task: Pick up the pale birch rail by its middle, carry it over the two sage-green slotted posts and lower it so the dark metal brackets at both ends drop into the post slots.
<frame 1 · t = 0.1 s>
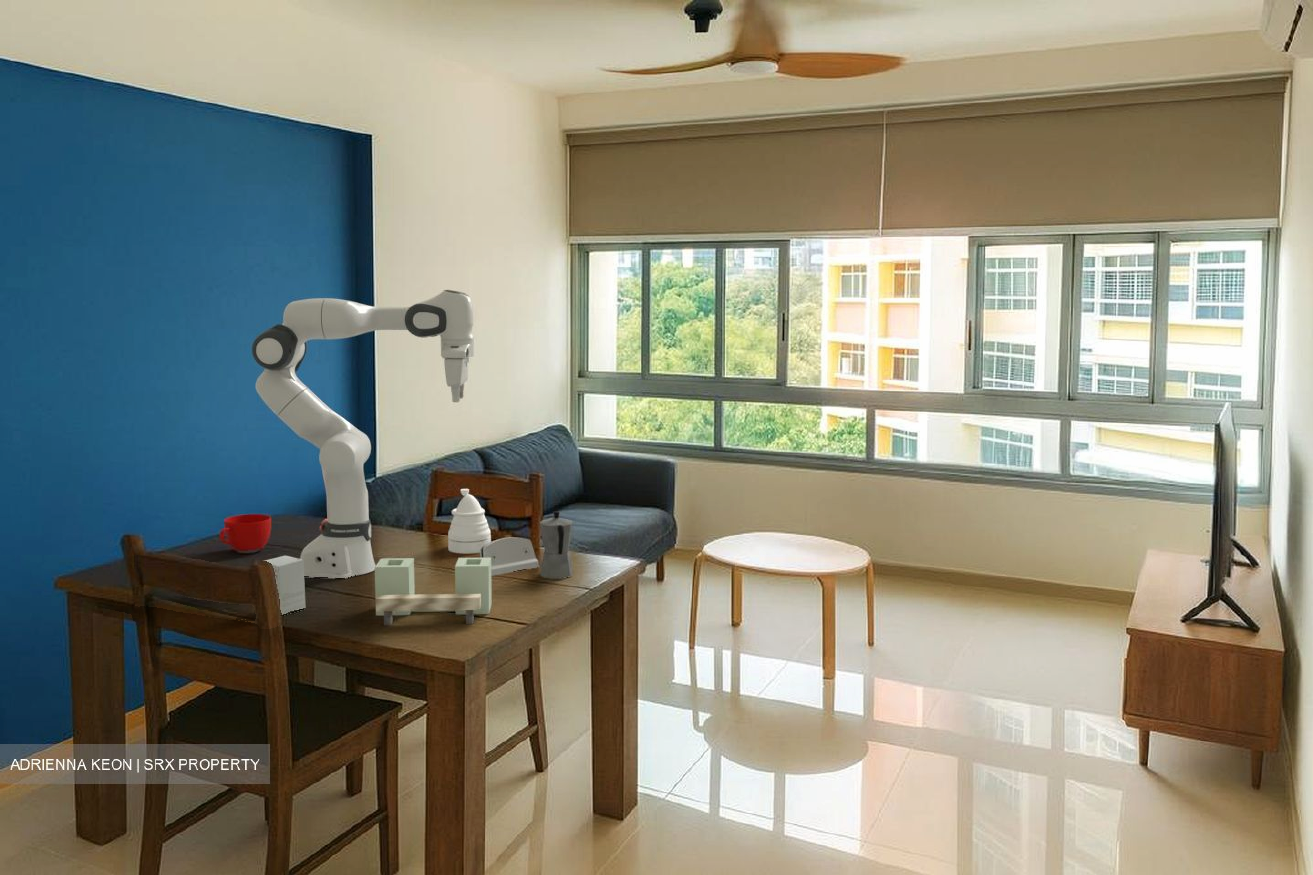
hand: (458, 400, 279), 48 cm above the table, tool pointing down, fingers open, 8 cm apart
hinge: (508, 569, 287), on the table
honey pot: (469, 548, 309), on the table
rail: (429, 622, 239), on the table
ceramic cup: (244, 553, 300), on the table
supplement box: (284, 611, 247), on the table
coffeepot: (557, 576, 280), on the table
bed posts: (435, 609, 249), on the table
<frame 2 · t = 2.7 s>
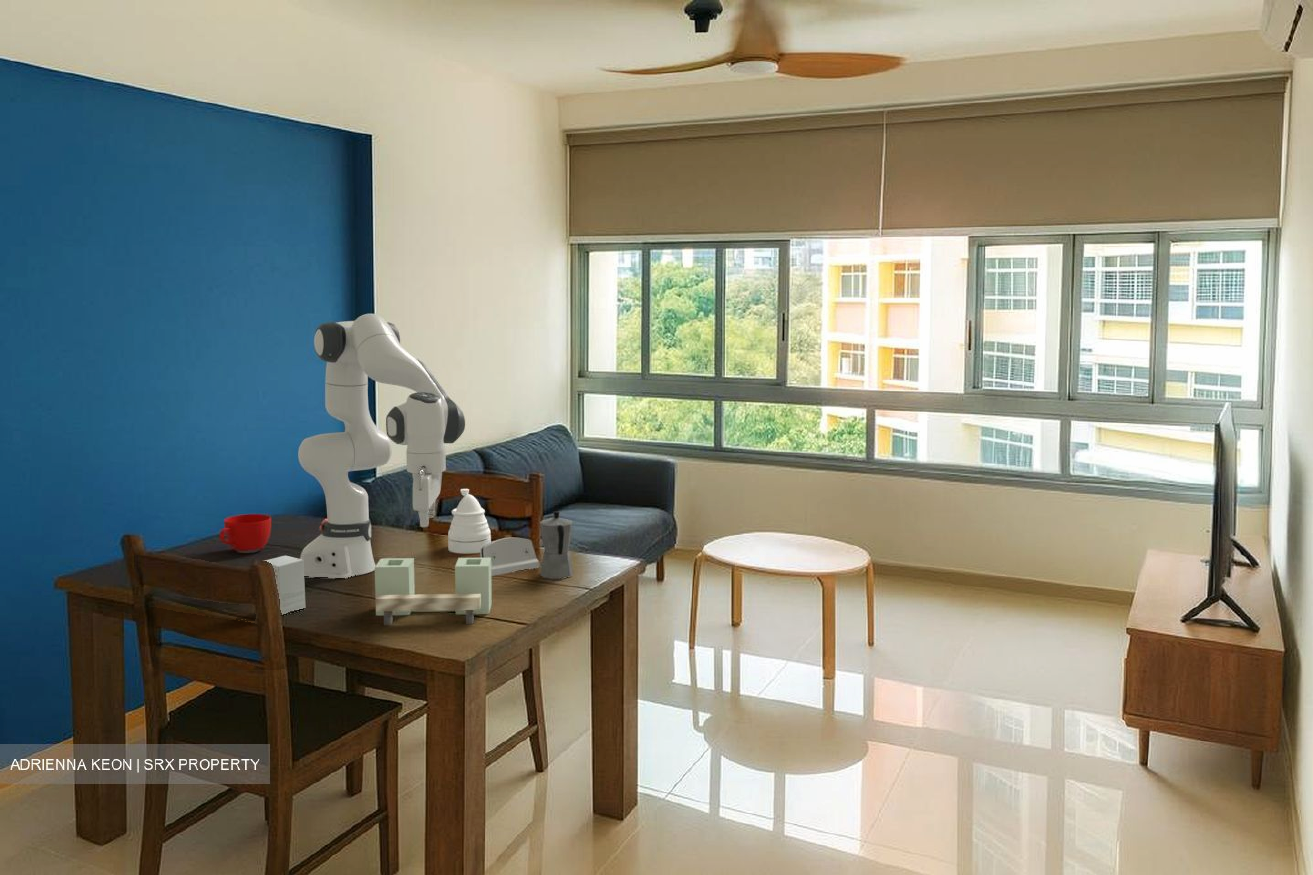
hand: (427, 521, 236), 24 cm above the table, tool pointing down, fingers open, 8 cm apart
nothing on the table moved.
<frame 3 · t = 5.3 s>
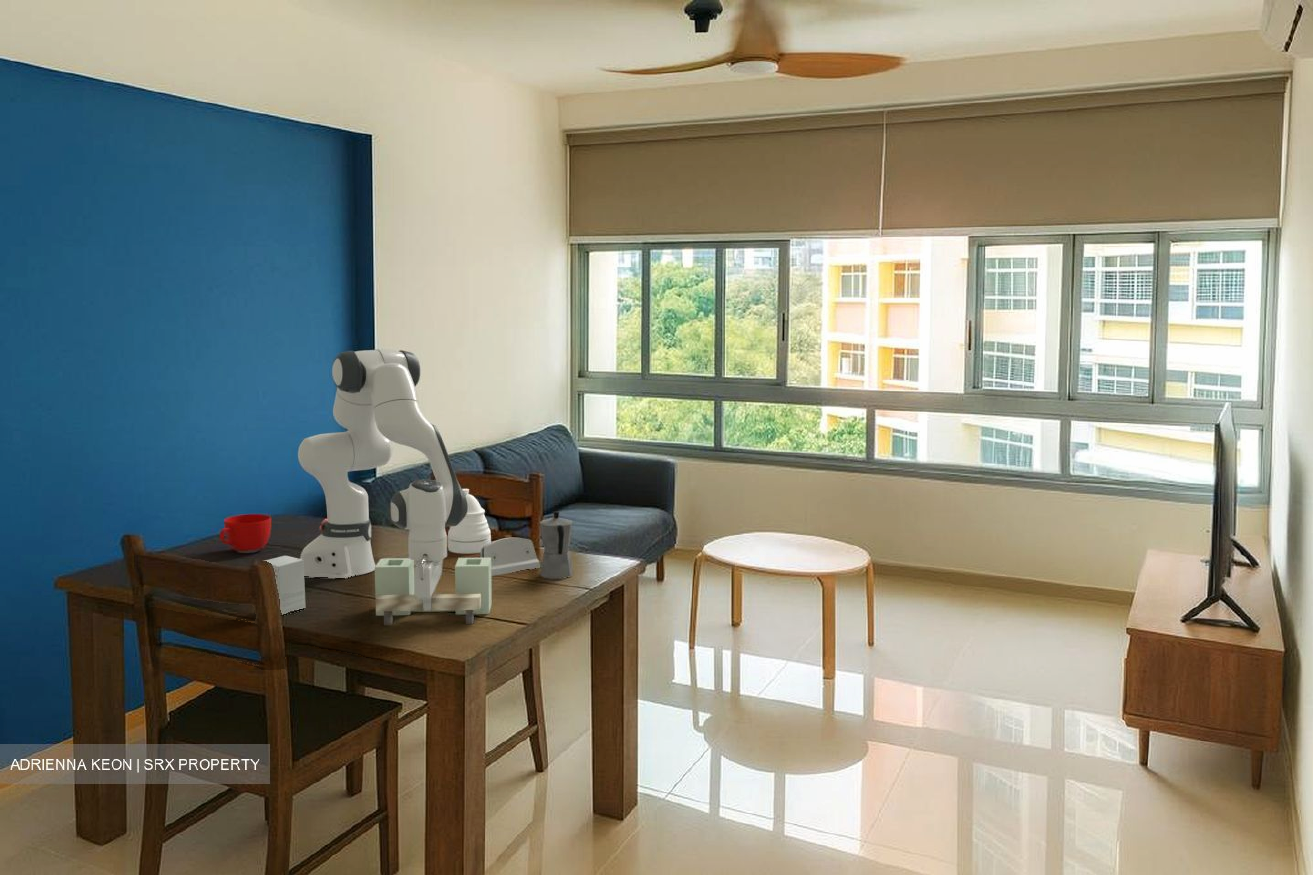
hand: (428, 606, 238), 4 cm above the table, tool pointing down, fingers closed on rail, 3 cm apart
rail: (429, 622, 239), on the table, touching gripper
everything else where it was.
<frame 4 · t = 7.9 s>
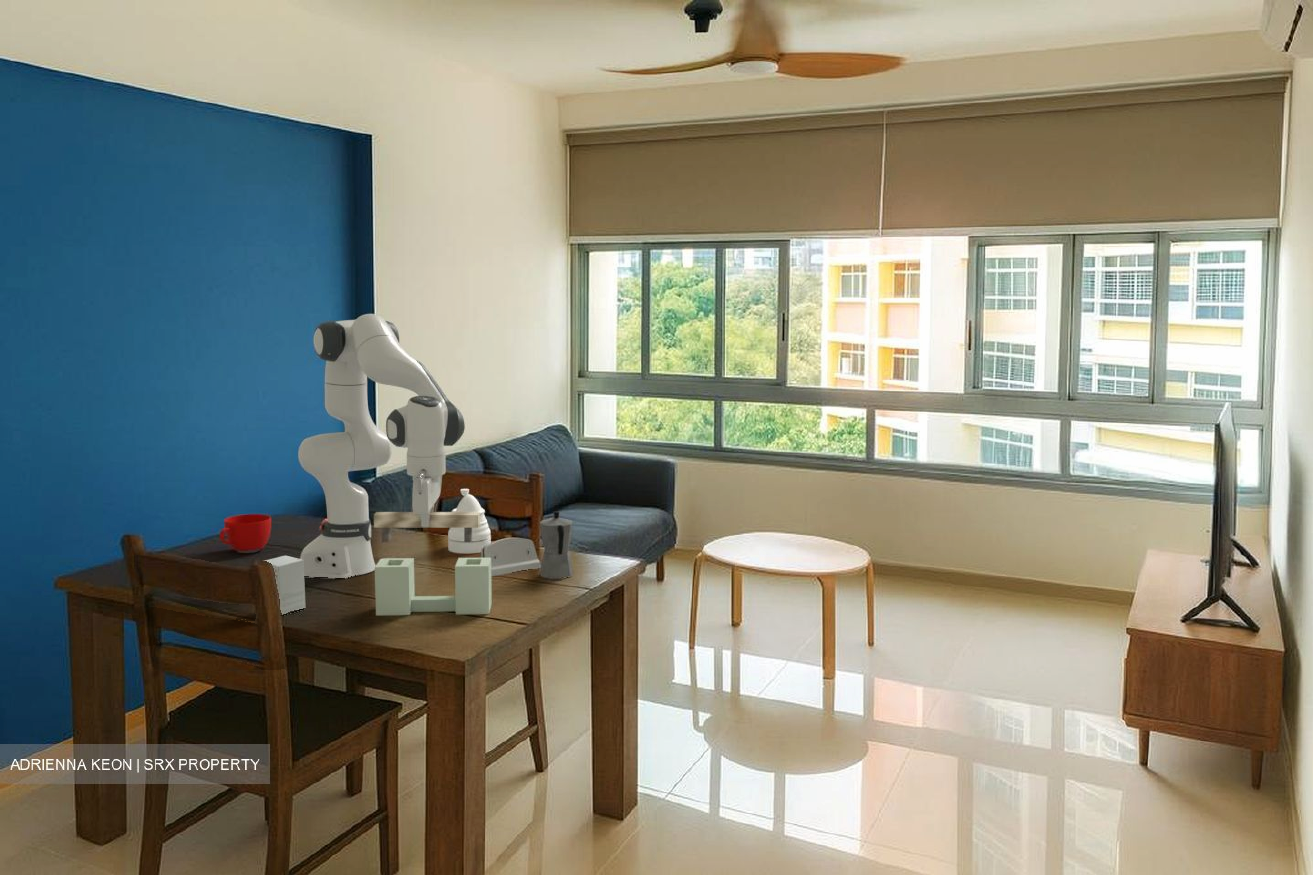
hand: (427, 524, 237), 23 cm above the table, tool pointing down, fingers closed on rail, 3 cm apart
rail: (427, 540, 238), point 20 cm above the table, touching gripper
everything else where it was.
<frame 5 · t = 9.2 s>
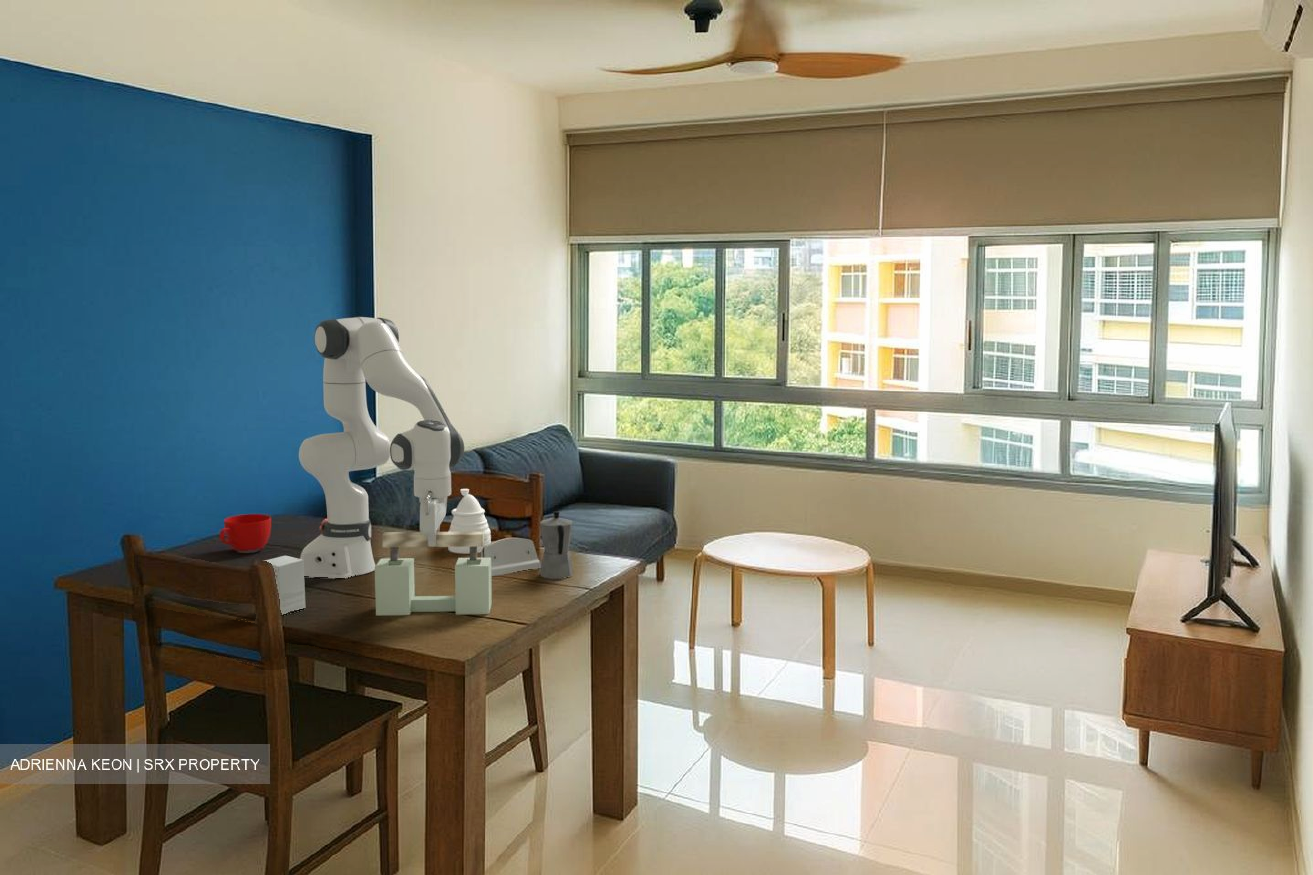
hand: (433, 543, 247), 17 cm above the table, tool pointing down, fingers closed on rail, 3 cm apart
rail: (434, 559, 247), point 13 cm above the table, touching gripper
everything else where it was.
when the fingers open (13 cm above the table, at t = 10.2 s): rail stays where it is, resting on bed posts.
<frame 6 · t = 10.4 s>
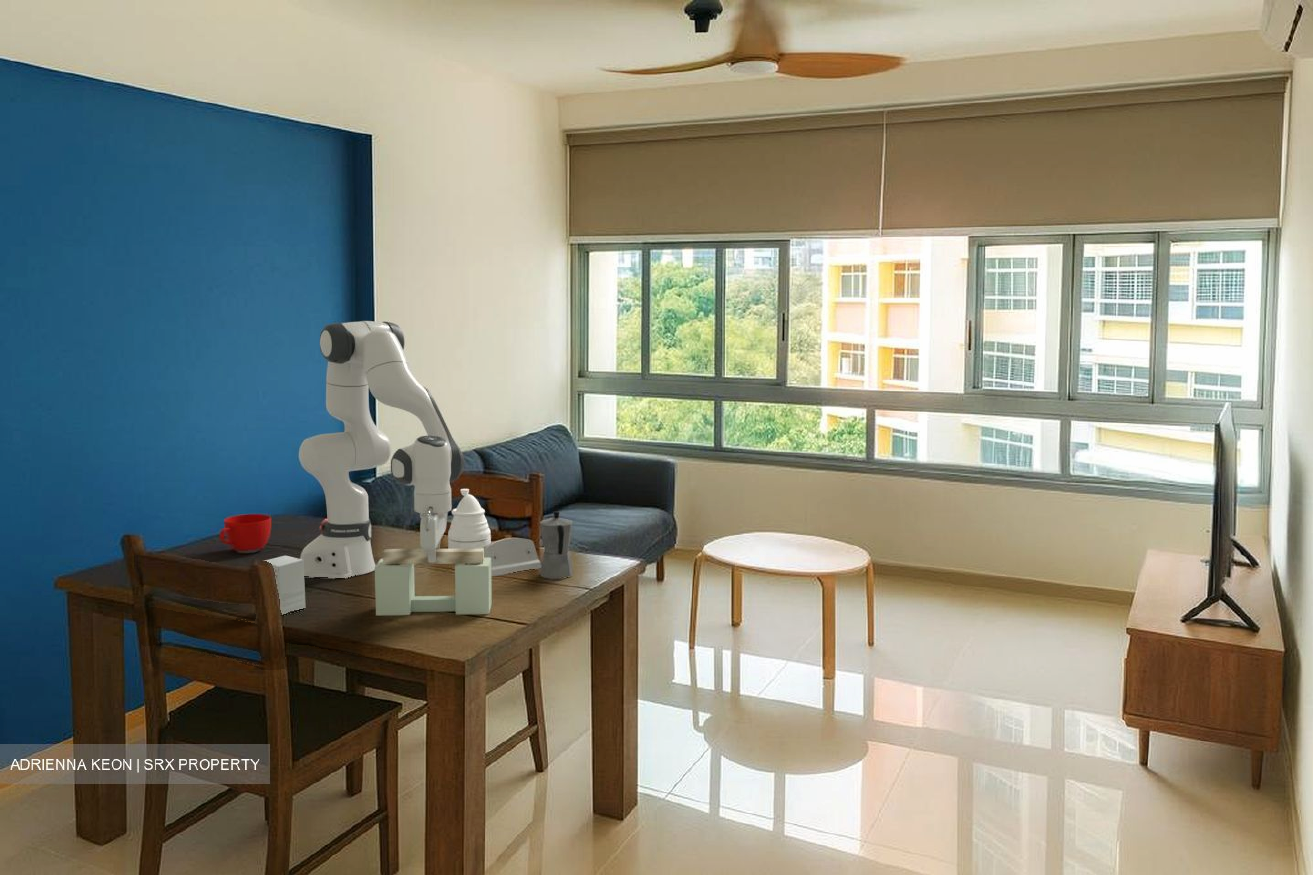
hand: (433, 558, 247), 13 cm above the table, tool pointing down, fingers open, 5 cm apart
rail: (434, 576, 248), point 8 cm above the table, touching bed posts
everything else where it was.
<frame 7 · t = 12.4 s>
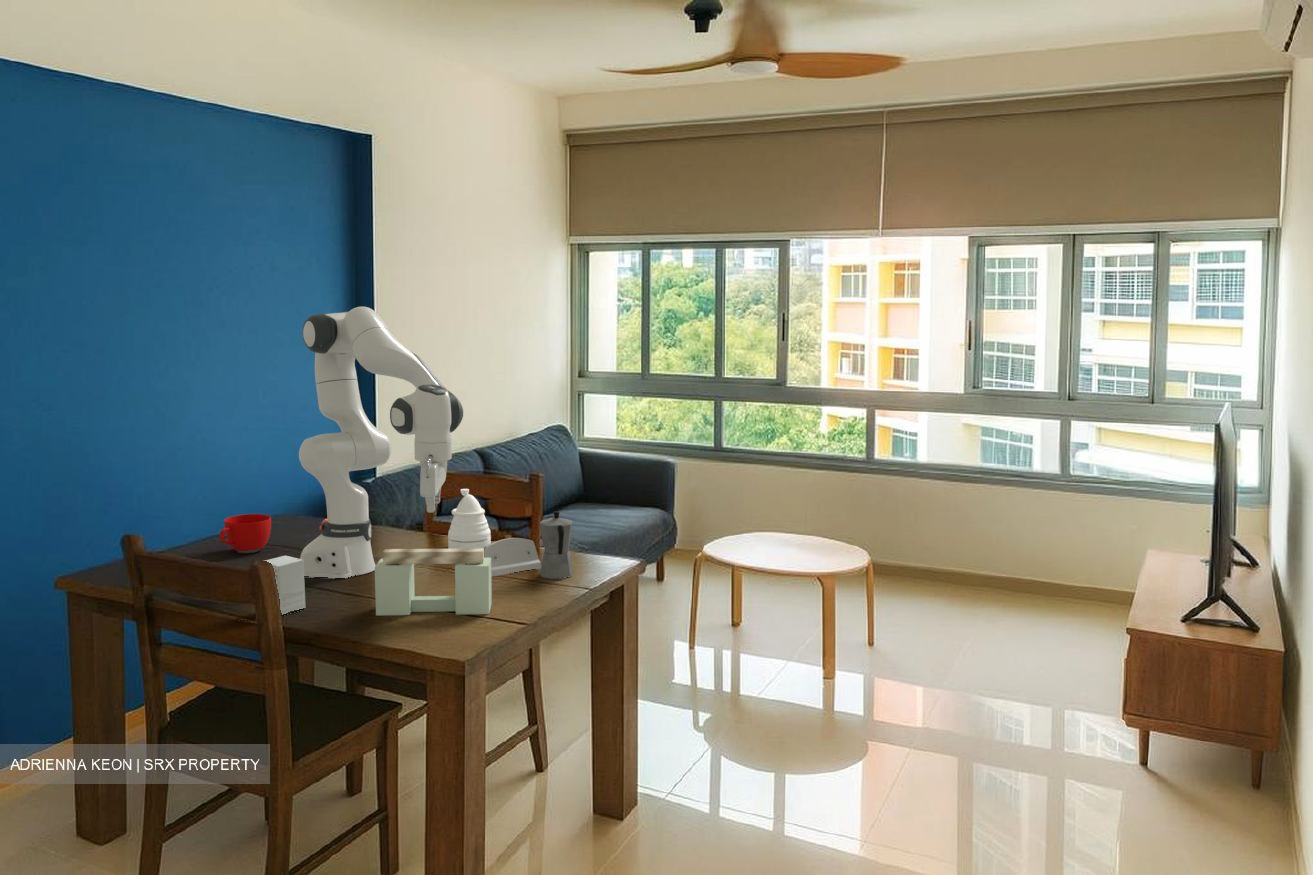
hand: (433, 507, 248), 25 cm above the table, tool pointing down, fingers open, 8 cm apart
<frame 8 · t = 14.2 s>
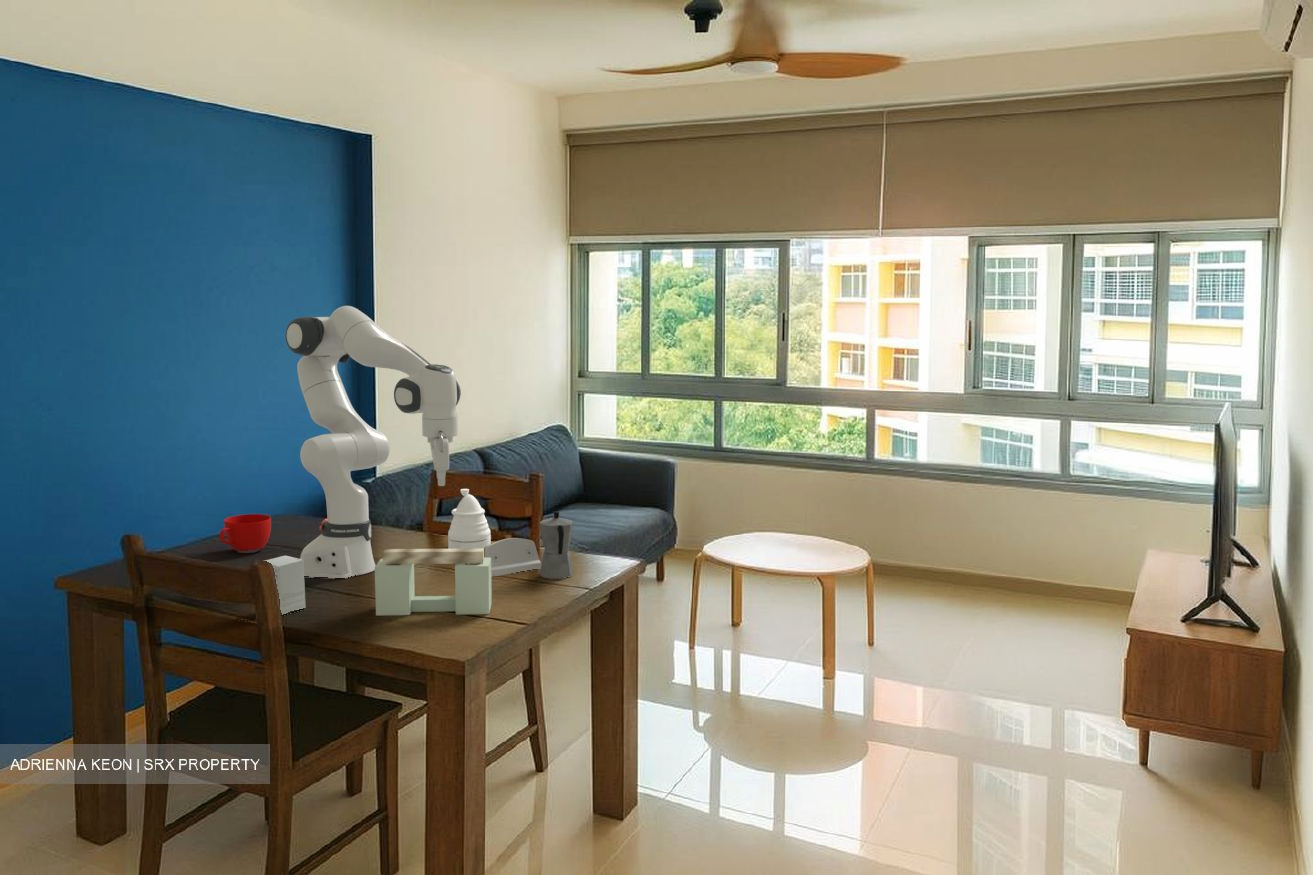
hand: (440, 482, 260), 29 cm above the table, tool pointing down, fingers open, 8 cm apart
at the end: rail 0.1 cm off-centre on the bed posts, point 8.5 cm above the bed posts's base; rail tilted 0°; the gripper is holding nothing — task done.
